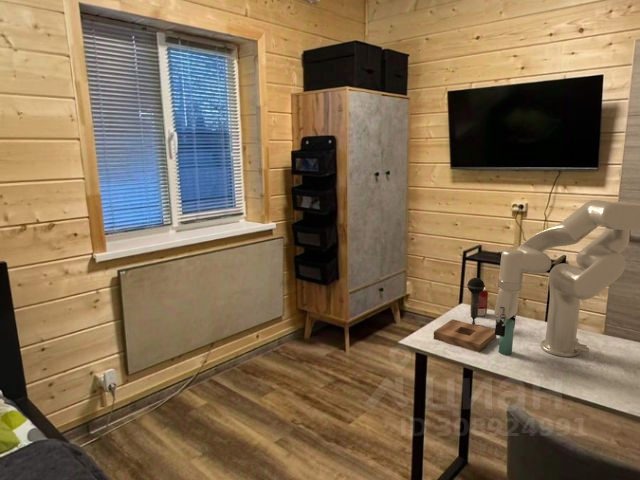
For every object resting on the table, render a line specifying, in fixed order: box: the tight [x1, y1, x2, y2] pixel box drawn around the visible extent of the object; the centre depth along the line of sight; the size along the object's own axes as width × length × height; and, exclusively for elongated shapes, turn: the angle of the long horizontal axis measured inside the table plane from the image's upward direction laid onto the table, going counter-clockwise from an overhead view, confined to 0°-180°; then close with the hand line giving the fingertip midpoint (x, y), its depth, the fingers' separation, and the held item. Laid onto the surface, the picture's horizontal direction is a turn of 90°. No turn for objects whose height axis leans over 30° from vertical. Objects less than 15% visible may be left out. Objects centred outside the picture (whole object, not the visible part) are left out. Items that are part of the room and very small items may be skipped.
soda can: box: [469, 287, 489, 318], centre depth 196 cm, size 7×7×12 cm
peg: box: [498, 319, 515, 356], centre depth 161 cm, size 4×4×12 cm
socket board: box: [433, 318, 497, 353], centre depth 174 cm, size 18×16×3 cm
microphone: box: [466, 277, 486, 325], centre depth 185 cm, size 7×7×20 cm
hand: (504, 331), depth 160 cm, fingers open, 9 cm apart
